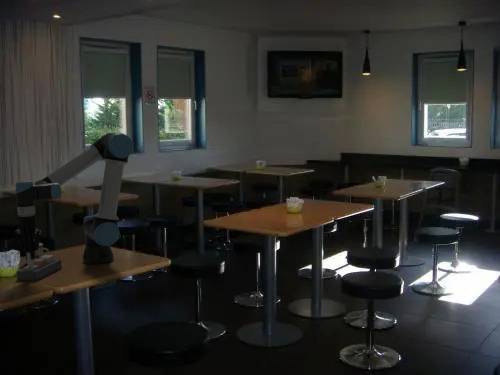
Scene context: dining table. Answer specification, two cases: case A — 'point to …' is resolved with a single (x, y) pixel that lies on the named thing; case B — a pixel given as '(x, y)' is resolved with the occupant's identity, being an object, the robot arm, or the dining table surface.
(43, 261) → the terracotta button
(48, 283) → the dining table surface
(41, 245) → the teacup with lid
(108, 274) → the dining table surface
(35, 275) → the button panel
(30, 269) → the green button
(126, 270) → the dining table surface
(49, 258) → the white button
